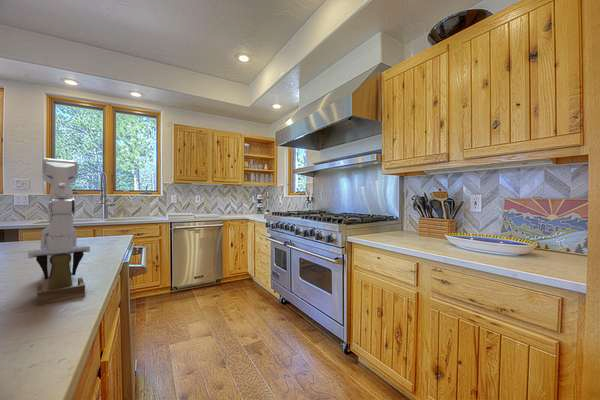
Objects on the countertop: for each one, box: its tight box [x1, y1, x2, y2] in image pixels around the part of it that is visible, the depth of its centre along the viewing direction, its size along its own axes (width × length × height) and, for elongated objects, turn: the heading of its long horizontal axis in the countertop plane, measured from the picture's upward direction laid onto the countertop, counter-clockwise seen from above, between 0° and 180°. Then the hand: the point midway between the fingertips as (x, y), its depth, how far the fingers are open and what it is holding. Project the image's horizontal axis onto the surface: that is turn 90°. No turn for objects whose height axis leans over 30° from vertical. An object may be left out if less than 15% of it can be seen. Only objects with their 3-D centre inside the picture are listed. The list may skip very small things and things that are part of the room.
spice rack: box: [36, 277, 86, 306], centre depth 75 cm, size 10×10×3 cm
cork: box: [46, 253, 74, 291], centre depth 82 cm, size 6×6×11 cm
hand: (60, 276), depth 82 cm, fingers open, 6 cm apart
